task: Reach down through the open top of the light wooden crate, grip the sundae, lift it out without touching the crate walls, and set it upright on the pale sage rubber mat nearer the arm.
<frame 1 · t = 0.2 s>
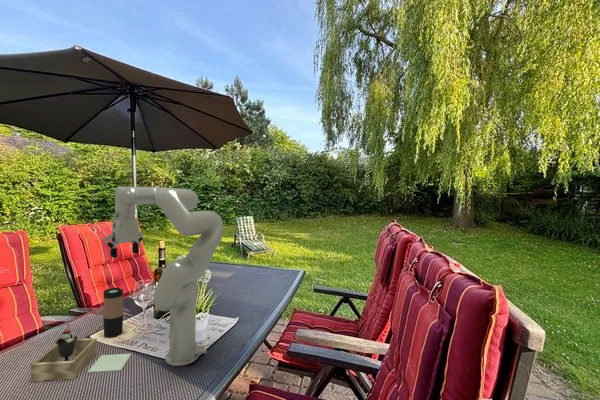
hand: (125, 255, 136), 37 cm above the table, tool pointing down, fingers open, 9 cm apart
sundae: (66, 366, 116), resting in crate
mat: (110, 363, 119), on the table
travel mug: (113, 334, 142), on the table
crate: (66, 366, 116), on the table
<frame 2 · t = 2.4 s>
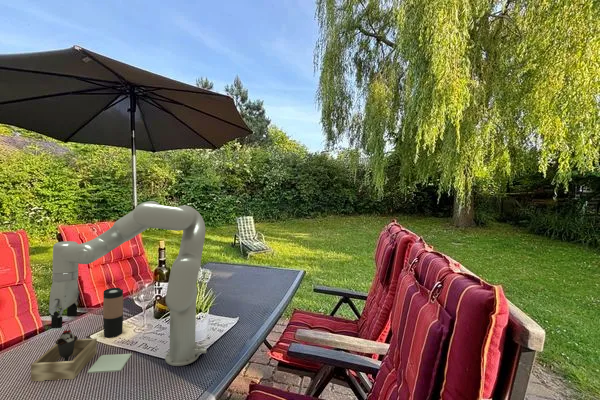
hand: (64, 321, 116), 17 cm above the table, tool pointing down, fingers open, 9 cm apart
nothing on the table moved.
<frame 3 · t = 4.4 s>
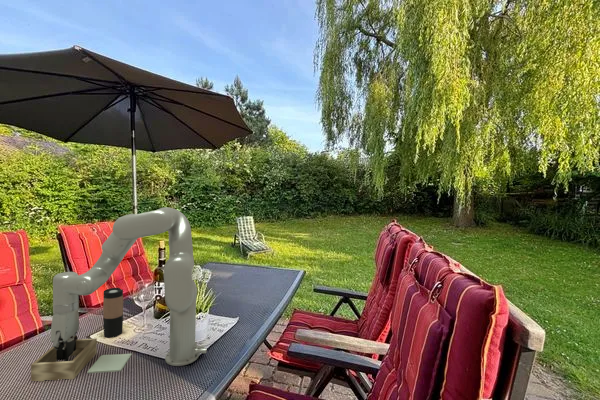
hand: (66, 354, 116), 4 cm above the table, tool pointing down, fingers closed on sundae, 5 cm apart
sundae: (66, 366, 116), resting in crate, touching gripper
everything else where it was.
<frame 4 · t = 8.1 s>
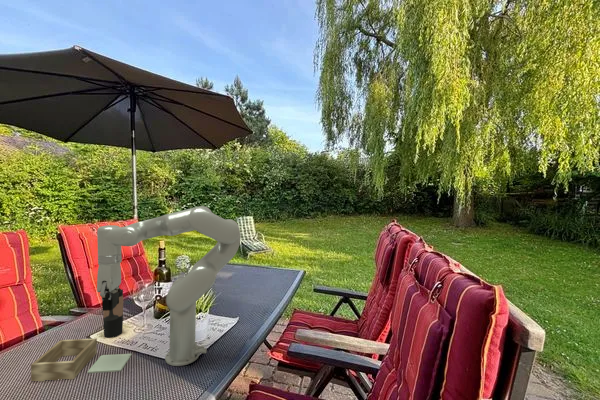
hand: (111, 306, 118), 22 cm above the table, tool pointing down, fingers closed on sundae, 5 cm apart
sundae: (111, 318, 118), point 17 cm above the table, touching gripper
everything else where it was.
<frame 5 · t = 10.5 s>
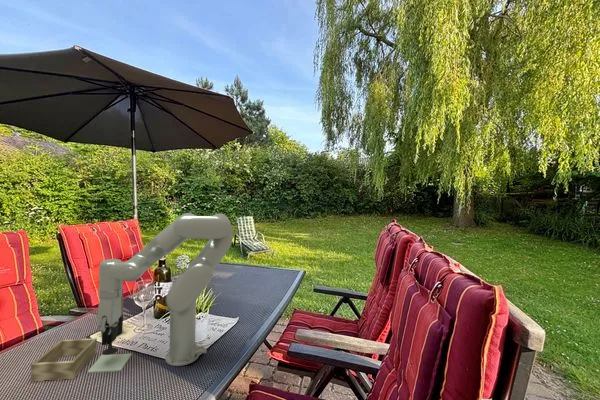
hand: (110, 340, 118), 9 cm above the table, tool pointing down, fingers closed on sundae, 5 cm apart
sundae: (110, 351, 119), point 5 cm above the table, touching gripper
everything else where it was.
when the fingers open (6 cm above the table, at t = 12.1 s): sundae drops 1 cm, resting on mat.
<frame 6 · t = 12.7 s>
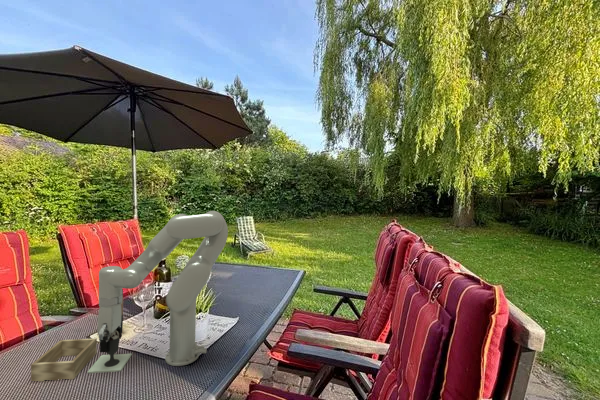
hand: (110, 344, 119), 7 cm above the table, tool pointing down, fingers open, 9 cm apart
sundae: (111, 363, 118), resting on mat
everything else where it was.
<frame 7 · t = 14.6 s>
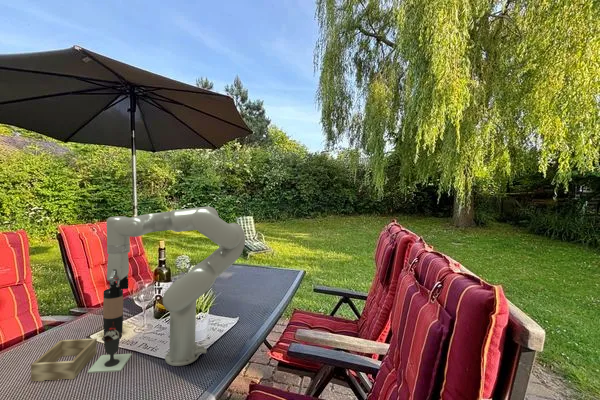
hand: (119, 292, 121), 26 cm above the table, tool pointing down, fingers open, 9 cm apart
nothing on the table moved.
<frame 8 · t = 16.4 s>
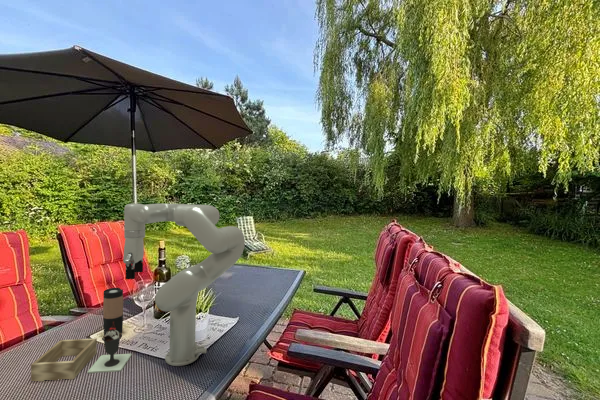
hand: (134, 275, 130), 30 cm above the table, tool pointing down, fingers open, 9 cm apart
nothing on the table moved.
at the end: sundae inside the target area on the mat (1.0 cm from its centre), point 0.4 cm above the mat's base; sundae tilted 0°; the gripper is holding nothing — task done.
